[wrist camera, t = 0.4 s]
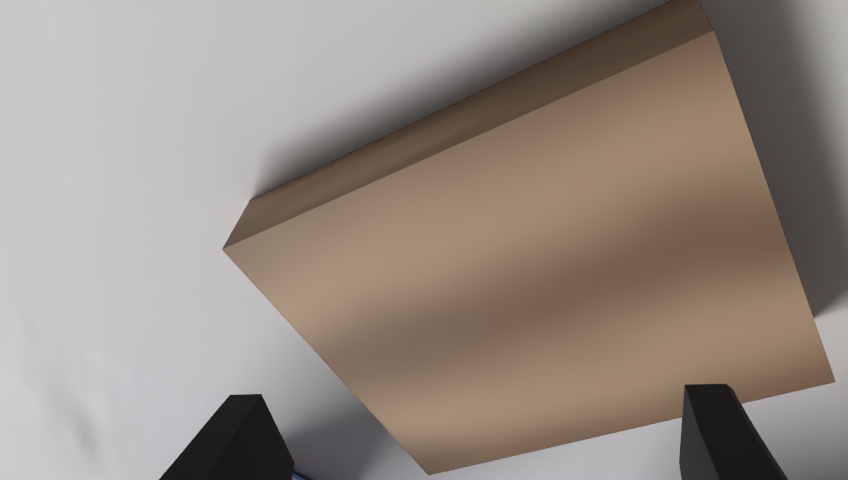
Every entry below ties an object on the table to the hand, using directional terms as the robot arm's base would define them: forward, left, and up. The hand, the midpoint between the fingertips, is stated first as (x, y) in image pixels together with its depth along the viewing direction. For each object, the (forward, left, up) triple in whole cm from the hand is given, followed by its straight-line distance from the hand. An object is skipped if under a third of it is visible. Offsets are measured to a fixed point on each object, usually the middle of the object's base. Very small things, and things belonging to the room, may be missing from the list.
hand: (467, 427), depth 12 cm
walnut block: (-4, +1, -10) cm, 11 cm away
